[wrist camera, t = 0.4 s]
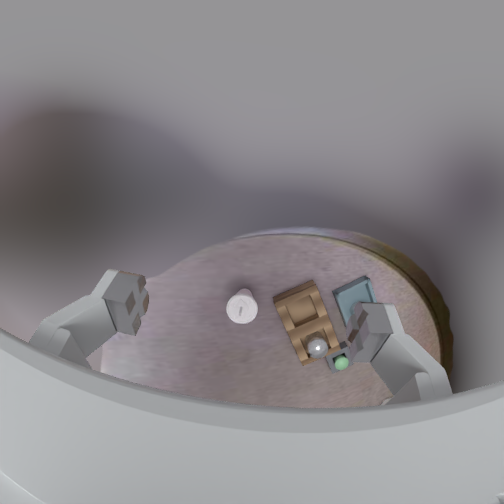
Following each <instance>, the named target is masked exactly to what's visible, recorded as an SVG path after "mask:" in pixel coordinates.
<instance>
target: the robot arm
mask: <svg viewBox="0 0 504 504" xmlns="http://www.w3.org/2000/svg"><path fill="white" fill-rule="evenodd" d="M145 284H146V280H145V277H144V276H143V275H140V274H134V273H129V272H124V271H117V270H113V269H109V270H107V271H106V273H105V274H104V276H103V277H102V278H101V280H100V281H99V283H98V284H97V286H96V287H95V289H94V290H93V292H92V293H91V295H90V296H89V295H86V296H84V297H83V298H81V299H79V300H77V301H75V302H73V303H72V304H70V305H68V306H67V307H65V308H63V309H61V310H59V311H58V312H56V313H54V314H52V315H51V316H49V317H47V318H45V319H44V320H42V322H41V324H40V325H39V327H38V328H37V330H36V331H35V333H34V335H33V336H32V338H31V339H30V341H29V343H28V342H26V341H24V340H22V339H20V338H18V337H16V336H14V335H12V334H10V333H8V332H6V331H5V330H3V329H1V328H0V504H504V380H503V381H500V382H497V383H494V384H490V385H487V386H484V387H480V388H476V389H472V390H469V391H465V392H460V393H457V394H452V390H451V387H450V384H449V381H448V378H447V375H446V372H445V369H444V368H443V367H442V366H441V365H440V364H439V363H438V362H437V361H436V360H435V359H434V358H433V357H432V356H431V355H429V354H428V353H427V352H426V351H425V350H424V349H423V348H422V347H421V346H420V345H419V344H418V343H417V342H416V341H415V340H414V339H413V338H412V337H411V336H409V335H408V334H405V332H404V330H403V327H402V324H401V321H400V319H399V316H398V314H397V311H396V308H395V306H394V305H393V304H392V303H374V302H358V303H357V304H356V305H355V307H354V311H355V313H354V314H353V315H351V316H350V318H349V320H348V322H347V327H346V335H347V340H348V341H349V342H350V343H351V345H350V347H349V352H350V357H351V362H370V364H371V365H372V367H373V368H374V369H375V371H376V372H377V373H378V375H379V376H380V377H381V379H382V380H383V381H384V383H385V384H386V385H387V387H388V388H389V390H390V391H391V392H392V394H393V395H394V396H393V397H392V398H391V399H390V400H389V401H388V402H387V403H386V404H385V405H379V406H366V407H348V408H293V407H275V406H262V405H251V404H242V403H233V402H226V401H219V400H212V399H206V398H200V397H195V396H189V395H184V394H179V393H174V392H170V391H165V390H161V389H157V388H153V387H149V386H145V385H141V384H137V383H133V382H130V381H126V380H123V379H120V378H116V377H113V376H110V375H107V374H104V373H101V372H98V371H95V370H92V368H91V366H90V365H89V363H88V361H87V360H86V357H87V356H89V355H90V354H91V353H92V352H94V351H95V350H96V349H97V348H99V347H100V346H101V345H102V344H103V343H105V342H106V341H107V340H108V339H110V338H111V337H112V336H113V335H115V334H116V333H117V332H121V333H125V334H130V335H135V336H136V334H137V331H138V329H139V327H140V325H141V320H140V317H142V316H143V315H145V313H146V311H147V309H148V304H149V295H148V291H147V290H146V289H145V288H144V286H145Z"/></svg>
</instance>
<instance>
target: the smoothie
mask: <svg viewBox="0 0 504 504" xmlns="http://www.w3.org/2000/svg"><path fill="white" fill-rule="evenodd" d="M226 311H227V314H228V316H229V318H230V319H231V320H232V321H234V322H236V323H239V324H246V323H249V322H251V321H252V320H253V319H254V318H255V317H256V315H257V311H258V306H257V302H256V301H255V299H254V298H253V295H252V293H251V291H250V290H248V289H240V290H239V291H238V292H237V293H236V294H235V295H234V296H232V297H231V298H230V299H229V301H228V303H227V307H226Z"/></svg>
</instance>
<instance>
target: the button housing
mask: <svg viewBox="0 0 504 504" xmlns="http://www.w3.org/2000/svg"><path fill="white" fill-rule="evenodd" d="M339 346H340V348H341V350H339V351H336V352H334V353H332V354H330V355H328V356H325V357H326V359H327V362H328V364H329V367H330V369H331V371H332V374H333V373H335V372H338V371H340V370H338V369H336V367H335V365H334V363H335V362H333V359H332V358H334V357H336V356H338V355H340V354H342V353H344V356H345V357H346V358H347V359H348V361H349V364H348V366H351V365H353V364H354V363H353V362H351V357H350V352H349V349H348V346H347V345H346V343H345V341H344V342H342V343H340V344H339ZM348 366H347V367H348Z"/></svg>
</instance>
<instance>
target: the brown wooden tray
mask: <svg viewBox="0 0 504 504" xmlns="http://www.w3.org/2000/svg"><path fill="white" fill-rule="evenodd" d="M273 300H274V304H275V306H276V309H277V311H278V313H279V315H280V317H281V320H282V322H283V324H284V326H285V328H286V330H287V333H288V335H289V337H290V339H291V341H292V344H293V346H294V348H295V350H296V352H297V354H298V357H299V359H300V361H301V363H302V365H303V366H304V365H307V364H309V363H311V362H314V361H316V360H318V359H316V358H313V357H311V356H310V354H309V351H308V348H307V345H306V342H305V338H306V336H307V335H309V334H311V333H314V332H316V331H318V332H320V333H321V334H322V336H323V338H324V340H325V342H326V344H327V346H328V352H327V354H326V355H325V356H328V355H330V354H332V353H334V352H336V351H339V350H341V348H340V346H339V343H338V340H337V338H336V335H335V332H334V330H333V327H332V324H331V322H330V319H329V317H328V314H327V311H326V309H325V306H324V304H323V301H322V299H321V296H320V294H319V291H318V289H317V286H316V284H315V283H314V282H313V280H311V281H309V282H307V283H304V284H302V285H300V286H298V287H296V288H293V289H291V290H289V291H286V292H284V293H282V294H280V295H277V296H275V297H273ZM325 356H324V357H325ZM322 358H323V357H322ZM319 359H321V358H319Z"/></svg>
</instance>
